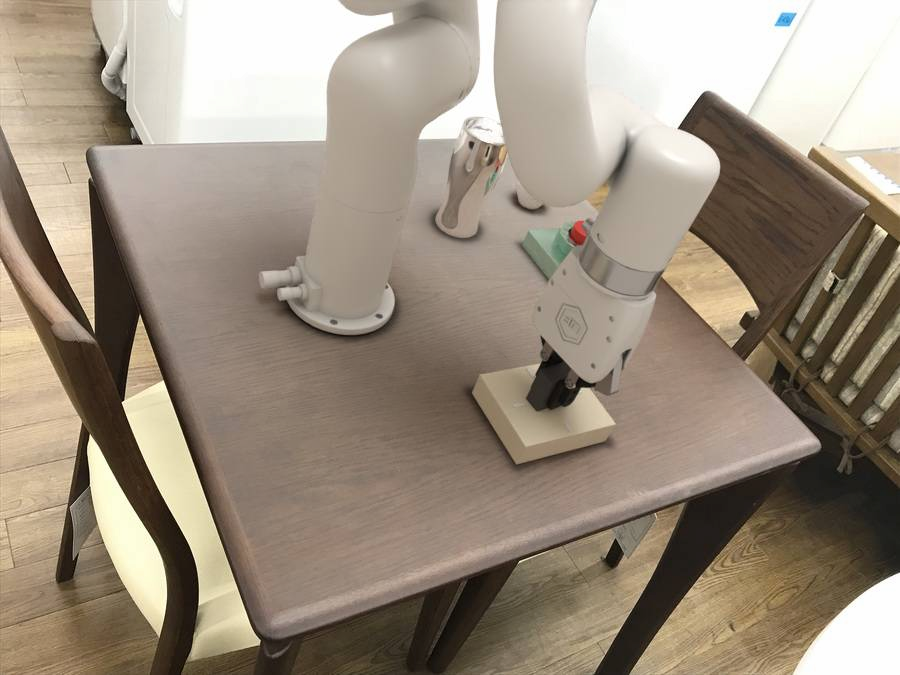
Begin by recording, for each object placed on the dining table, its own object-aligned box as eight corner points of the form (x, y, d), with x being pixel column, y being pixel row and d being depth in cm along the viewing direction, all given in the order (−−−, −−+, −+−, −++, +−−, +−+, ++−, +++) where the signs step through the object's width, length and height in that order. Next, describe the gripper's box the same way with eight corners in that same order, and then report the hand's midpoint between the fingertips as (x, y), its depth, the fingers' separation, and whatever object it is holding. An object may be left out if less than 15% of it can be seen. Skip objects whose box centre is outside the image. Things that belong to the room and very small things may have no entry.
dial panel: (516, 464, 78) (526, 445, 76) (471, 392, 84) (479, 373, 82) (605, 441, 84) (617, 423, 82) (558, 375, 90) (567, 357, 88)
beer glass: (475, 246, 104) (510, 151, 95) (426, 229, 104) (457, 132, 94) (483, 220, 110) (517, 127, 100) (437, 204, 110) (467, 109, 100)
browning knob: (536, 412, 80) (552, 381, 77) (525, 398, 81) (540, 367, 78) (570, 399, 83) (587, 369, 80) (559, 386, 84) (575, 356, 81)
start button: (579, 249, 103) (584, 239, 102) (564, 231, 106) (568, 221, 105) (602, 247, 105) (607, 237, 104) (586, 229, 108) (591, 219, 107)
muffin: (501, 197, 116) (516, 157, 111) (524, 187, 120) (540, 148, 115) (532, 219, 114) (548, 180, 109) (555, 209, 118) (572, 170, 113)
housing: (554, 287, 103) (567, 261, 100) (521, 245, 108) (532, 219, 105) (621, 279, 109) (635, 254, 106) (587, 239, 114) (599, 215, 111)
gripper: (537, 215, 71) (480, 353, 83) (655, 328, 64) (572, 462, 76) (592, 205, 76) (530, 337, 88) (709, 309, 68) (623, 439, 80)
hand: (550, 394), depth 82 cm, fingers closed on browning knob, 2 cm apart
